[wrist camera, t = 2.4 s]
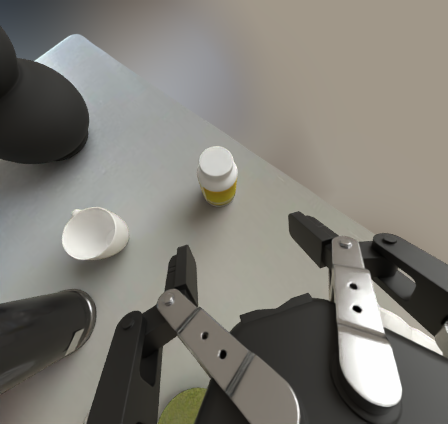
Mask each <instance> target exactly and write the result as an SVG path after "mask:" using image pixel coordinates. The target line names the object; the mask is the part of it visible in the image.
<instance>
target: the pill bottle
mask: <svg viewBox="0 0 448 424" xmlns="http://www.w3.org/2000/svg"><path fill="white" fill-rule="evenodd" d="M197 177H198V181H199V184H200V187H201V189H202V192H203V195H204V197H205V199H206V201H207V202H208V203H209V204H211V205H213V206H217V207H221V206H225V205H227V204H229V203H230V202H231V201H232V200H233V198H234V196H235V191H236V182H237V167H236V165H235V163H234V162H233V157H232V155H231V153H230V152H229V151H228V150H227V149H225V148H223V147H219V146H214V147H210V148H208V149H206V150H205V151H203V152H202V154H201V155H200V158H199V166H198V169H197Z"/></svg>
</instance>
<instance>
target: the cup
mask: <svg viewBox="0 0 448 424" xmlns="http://www.w3.org/2000/svg"><path fill="white" fill-rule="evenodd" d="M71 215H72V216H73V217H72V218H71V219H70V220H69V221H68V222H67V224H66V226H65V228H64V230H63V234H62V244H63V248H64V250H65V251H66V253H67V254H68V255H69V256H71V257H72V258H74V259H78V260H99V259H104V258H108V257H111V256H113V255H115V254H117V253H118V252H120V251H121V250H122V249H123V248H124V247H125V246H126V245H127V243H128V241H129V236H130V234H129V229H128V226H127V224H126V223H125V222H124V220H123V219H122V218H120V217H119V216H118V215H116V214H114V213H112V212H110V211H108V210H106V209H103V208H99V207H90V208H86V209H83V210H80V209H75V210H73V211H72V212H71Z"/></svg>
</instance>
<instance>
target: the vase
mask: <svg viewBox="0 0 448 424" xmlns="http://www.w3.org/2000/svg"><path fill="white" fill-rule="evenodd" d="M88 126H89V114H88V109H87V106H86V104H85V101H84V99H83V98H82V96H81V94H80V93H79V92H78V90H77V89H76V88H75V87H74V86H73V84H72V83H71V82H69V81H68V80H67V79H66V78H65V77H64V76H62V75H61V74H59V73H58V72H56V71H55V70H53V69H51V68H49V67H47V66H45V65H43V64H40V63H38V62H34V61H31V60H26V59H20V58H16V53H15V50H14V47H13V45H12V43H11V41H10V39H9V37H8V36H7V34H6V33H5V31H4V30H3V29H2V27H1V26H0V159H3V160H7V161H11V162H16V163H23V164H39V163H46V162H51V161H60V160H65V159H67V158H70V157H72V156H73V155H75V154H76V153H78V152H79V151H80V150H81V149H82V148H83V146H84V145H85V143H86V141H87V138H88Z"/></svg>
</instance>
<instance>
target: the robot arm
mask: <svg viewBox="0 0 448 424" xmlns="http://www.w3.org/2000/svg"><path fill="white" fill-rule="evenodd" d="M288 219H289V232H290V235H291V237H292V238H293V239H294V240H295V241H296V242H297V244H298V245H299V246H300V247H301V248H302V249H303V250H304V251H305V252H306V253H307V254H308V256H309V257H310V258H311V259H312V260H313V261H314V262H315V263H316V264H317V265H318V267H319V268H323V267H326V266H327V267H328V268H329V271H328V276H329V301H328V300H325V299H319V298H312V297H311V296H310V294H309V293H306V294H303V295H300V296H297V297H294V298H291V299H290V300H289V301H287V302H286V303H284V304H283V305H281V306H280V307H278V308H276V309H262V310H255V311H252V312H249V313H246V314H242V315H240V319H241V322H239V323H238V324H237V325H236V326H235V327H234V328H233V329H232V330H231V331H230V333H229V332H228V331H227V330H226V329H224V328H223V327H222V326H221V325H220V324H219V323H218V322H217V321H216V320H214V319H213V318H212V317H211V316H210V315H209V314H208V313H207V312H206V311H204V310H203V309H202V308H201V307H199V308H197V307H198V292H197V270H196V262H195V259H194V257H193V255H192V252H191V250H190V248H189V246H188V245H185V246H181V247H178V249H177V255H175V256H172V258H171V260H170V261H169V266H168V272H167V273H168V274H167V279H166V285H165V292H164V293H163V294H162V295H161V296H160V297H159V299H158V301H157V304H156V305H155V306H154V307H152V308H151V309H149V310H147V311H146V312H144V313H143V314H142V313H141V312H140V311H132V312H130V313H128V314H127V315H125V316H124V317H123V318H122V319H121V321H120V322H119V323H118V325H117V327H116V330H115V333H114V336H113V339H112V342H111V346H110V349H109V352H108V355H107V358H106V362H105V365H104V368H103V371H102V374H101V378H100V381H99V384H98V387H97V390H96V394H95V397H94V400H93V403H92V406H91V410H90V413H89V416H88V419H87V422H86V424H157V420H158V406H159V392H160V378H161V364H162V350H163V345H165V344H166V343H168V342H169V341H170V340H172V339H173V338H175V337H176V336H178V337H179V339H180V340H181V341H182V343H183V344H184V345H185V346H186V348H187V349H188V350H189V351H190V353H191V354H192V355H193V356H194V358H195V359H196V360H197V362H198V363H199V364H200V366H201V367H202V368H203V369H204V371H205V372H206V373H207V375H208V376H209V377H210V378H211V380H210V382H209V385H208V388H207V390H206V393H205V396H204V398H203V401H202V404H201V406H200V409H199V411H198V414H197V417H196V419H195V422H194V424H448V265H447V264H446V263H444V262H442V261H441V260H439V259H437V258H435V257H434V256H432V255H430V254H428V253H427V252H425V251H423V250H422V249H420V248H418V247H416V246H415V245H413V244H411V243H409V242H407V241H406V240H404V239H402V238H401V237H398V236H396V235H393V234H387V233H382V234H376V235H375V236H374V237H373V241H365V242H357V241H356V240H355V239H353V238H350V237H346V236H338V235H337V234H336V233H334V232H333V231H332V230H330V229H329V228H328V227H326V226H324V224H322V223H321V222H320V221H318V220H317V219H315V218H314V217H311V216H308V215H307V216H305V215H304V214H302V213H301V212H299V211H298V212H295V213H291V214H289V216H288ZM398 267H399V268H400V269H401V270H403V271H404V272H405V273H407V274H408V275H409V276H411V277H412V278H413V279H414V281H415V283H414V282H413V281H412V280H410V279H409V278H408V277H406V276H405V275H404V274H402V273H401V272H400V271H398V270H397V269H398ZM372 280H373V281H374V282H375V283H376V284H377V285H379V286H380V287H381V288H382V289H383V290H384V291H385V292H386V293H387V294H388V295H389V296H391V297H392V298H393V299H394V300H395V301H396V302H397V303H398V304H399V305H400V306H401V307H403V308H404V309H405V310H406V311H407V312H408V313H409V314H410V315H411V316H412V317H413V318H414V319H416V320H417V321H418V322H419V323H420V324H421V325H422V326H423V327H424V328H425V329H426V330H428V331H429V332H430V333H431V334H432V335H433V336H434V337H435V341H436V344H437V346H438V347H439V349H440V350H441V351H442V352H443V353H442V354H443V355H440V354H438V353H436V352H434V351H432V350H430V349H428V348H426V347H424V346H422V345H420V344H418V343H416V342H414V341H412V340H410V339H408V338H406V337H404V336H402V335H400V334H398V333H396V332H393V331H391V330H389V329H387V328H385V327H383V324H382V320H381V315H380V311H379V307H378V303H377V299H376V295H375V291H374V287H373V283H372ZM95 322H96V307H95V304H94V302H93V300H92V298H91V297H90V296H89V295H88V294H87V293H86V292H84V291H82V290H78V289H70V290H64V291H60V292H57V293H52V294H47V295H42V296H37V297H31V298H26V299H21V300H16V301H11V302H6V303H1V304H0V395H1V394H3V393H5V392H6V391H8V390H10V389H11V388H13V387H15V386H16V385H18V384H20V383H21V382H23V381H25V380H26V379H28V378H30V377H31V376H33V375H35V374H36V373H38V372H40V371H41V370H43V369H45V368H46V367H48V366H50V365H51V364H53V363H55V362H56V361H58V360H60V359H61V358H63V357H66V356H67V355H69V354H71V353H73V352H74V351H76V350H77V349H79V348H80V347H81V346H82V345H83V344H84V343H85V342H86V341H87V340H88V338H89V337H90V335H91V333H92V331H93V329H94V326H95Z"/></svg>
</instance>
